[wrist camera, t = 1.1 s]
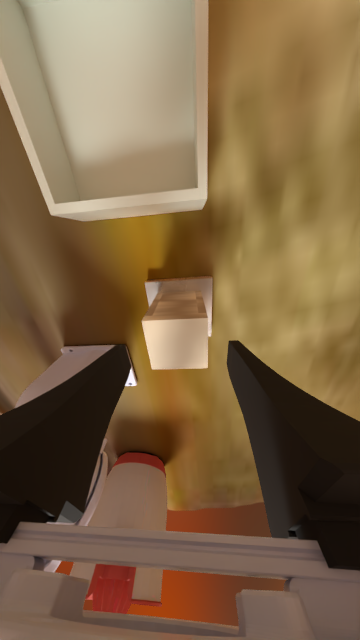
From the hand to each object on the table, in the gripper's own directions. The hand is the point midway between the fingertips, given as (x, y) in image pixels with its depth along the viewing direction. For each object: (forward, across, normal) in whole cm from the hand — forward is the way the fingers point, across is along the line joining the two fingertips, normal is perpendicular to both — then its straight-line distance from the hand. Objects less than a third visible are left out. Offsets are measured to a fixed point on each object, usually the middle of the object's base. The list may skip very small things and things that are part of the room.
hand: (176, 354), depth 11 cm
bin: (+8, +3, -15) cm, 18 cm away
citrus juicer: (+9, +13, +41) cm, 44 cm away
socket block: (+7, 0, 0) cm, 7 cm away
